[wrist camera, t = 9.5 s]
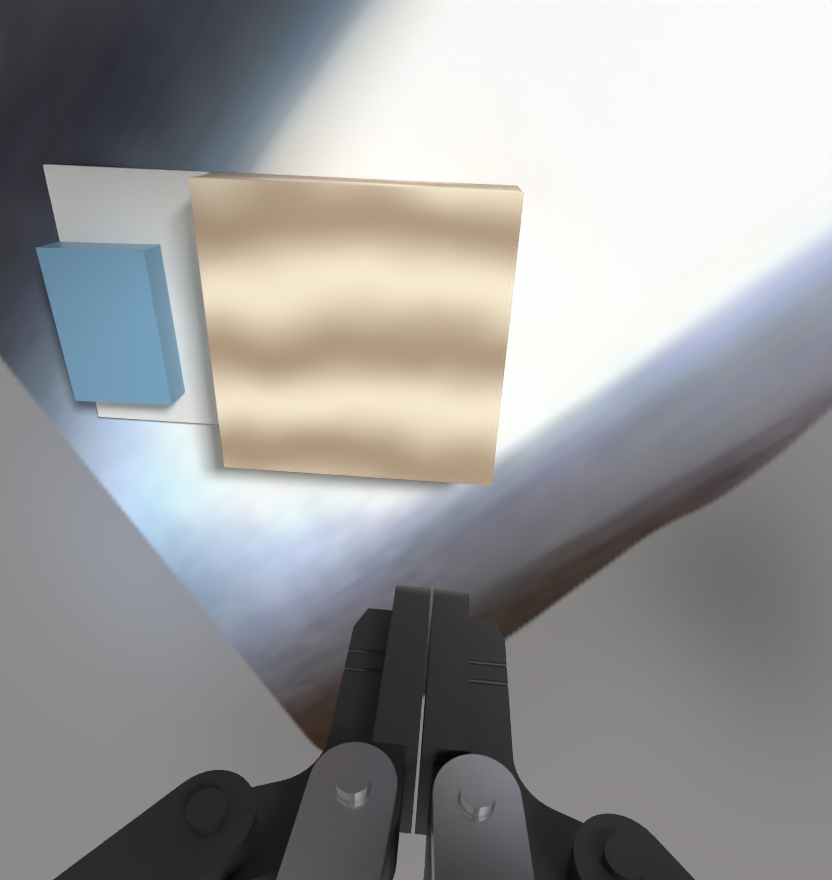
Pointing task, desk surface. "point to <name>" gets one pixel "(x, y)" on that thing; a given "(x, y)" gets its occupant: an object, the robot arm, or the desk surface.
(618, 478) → the desk surface
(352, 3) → the desk surface
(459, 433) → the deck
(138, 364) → the blue flat block
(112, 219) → the mat
